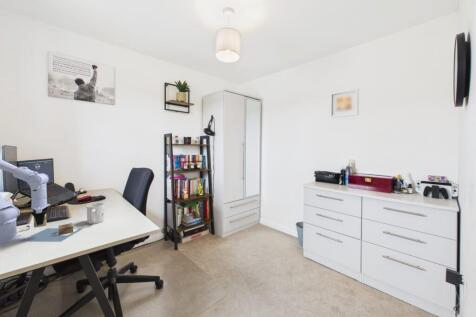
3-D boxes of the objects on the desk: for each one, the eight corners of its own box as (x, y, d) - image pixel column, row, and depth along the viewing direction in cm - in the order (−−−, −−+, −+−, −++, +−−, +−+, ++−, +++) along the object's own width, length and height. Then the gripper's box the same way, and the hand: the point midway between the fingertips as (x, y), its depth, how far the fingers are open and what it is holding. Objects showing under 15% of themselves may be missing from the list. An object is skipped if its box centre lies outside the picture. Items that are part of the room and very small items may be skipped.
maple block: (34, 227, 103) (33, 218, 103) (34, 224, 106) (34, 215, 106) (46, 225, 106) (45, 216, 106) (46, 222, 109) (46, 213, 109)
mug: (89, 220, 131) (88, 203, 130) (105, 218, 135) (105, 202, 134) (84, 227, 120) (83, 209, 119) (102, 225, 124) (101, 207, 123)
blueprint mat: (19, 242, 101) (19, 241, 101) (47, 228, 117) (47, 228, 117) (61, 242, 102) (61, 241, 102) (83, 229, 118) (83, 228, 118)
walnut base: (58, 235, 109) (58, 229, 108) (58, 231, 113) (58, 225, 113) (73, 232, 113) (73, 226, 112) (72, 228, 117) (72, 222, 117)
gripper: (49, 199, 102) (50, 225, 103) (50, 193, 113) (50, 217, 114) (29, 201, 98) (30, 229, 99) (31, 195, 108) (33, 220, 109)
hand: (40, 222), depth 106 cm, fingers closed on maple block, 4 cm apart
